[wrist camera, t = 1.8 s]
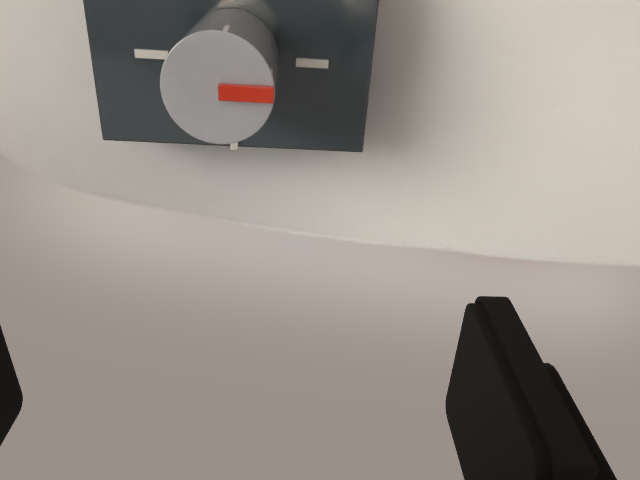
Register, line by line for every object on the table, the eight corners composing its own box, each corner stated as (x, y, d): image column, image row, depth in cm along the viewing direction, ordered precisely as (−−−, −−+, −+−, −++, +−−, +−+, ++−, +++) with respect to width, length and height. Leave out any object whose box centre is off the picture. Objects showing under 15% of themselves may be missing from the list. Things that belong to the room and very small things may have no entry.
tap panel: (120, 121, 28) (101, 143, 25) (98, -63, 24) (72, -60, 21) (356, 133, 29) (362, 156, 26) (374, -45, 25) (383, -39, 22)
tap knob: (188, 102, 25) (162, 145, 20) (182, 5, 23) (152, 28, 18) (278, 106, 25) (273, 150, 20) (280, 11, 23) (275, 35, 18)
